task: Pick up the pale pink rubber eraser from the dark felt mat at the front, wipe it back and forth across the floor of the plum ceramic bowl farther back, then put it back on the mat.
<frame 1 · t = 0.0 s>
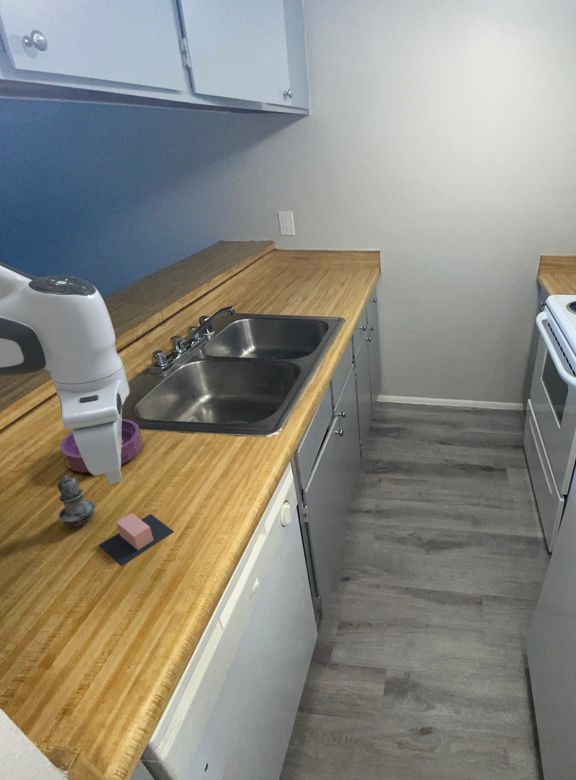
hand: (116, 462, 76), 21 cm above the worktop, tool pointing down, fingers open, 8 cm apart
mat: (137, 540, 88), on the worktop
eraser: (137, 538, 88), point 1 cm above the worktop, touching mat
bowl: (106, 454, 110), on the worktop
grey stone finial: (82, 525, 91), on the worktop
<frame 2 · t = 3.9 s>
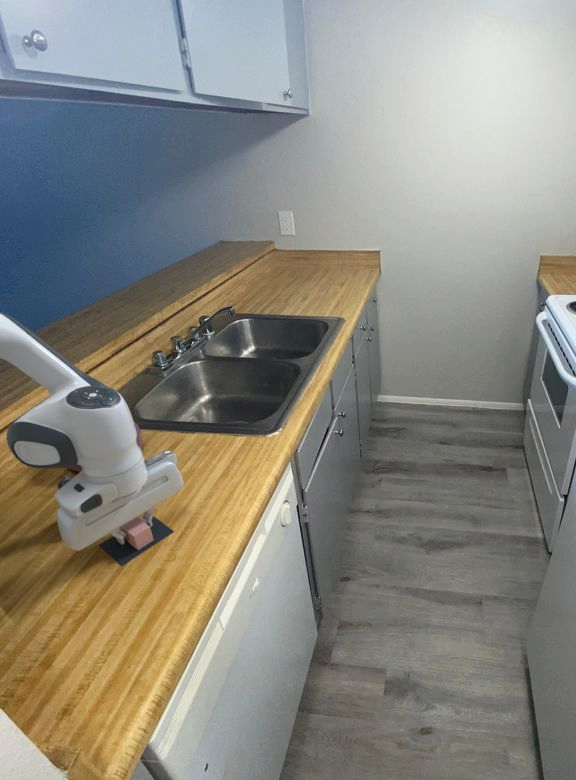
hand: (135, 533, 87), 2 cm above the worktop, tool pointing down, fingers closed on eraser, 3 cm apart
eraser: (137, 538, 88), point 1 cm above the worktop, touching gripper, mat
everything else where it was.
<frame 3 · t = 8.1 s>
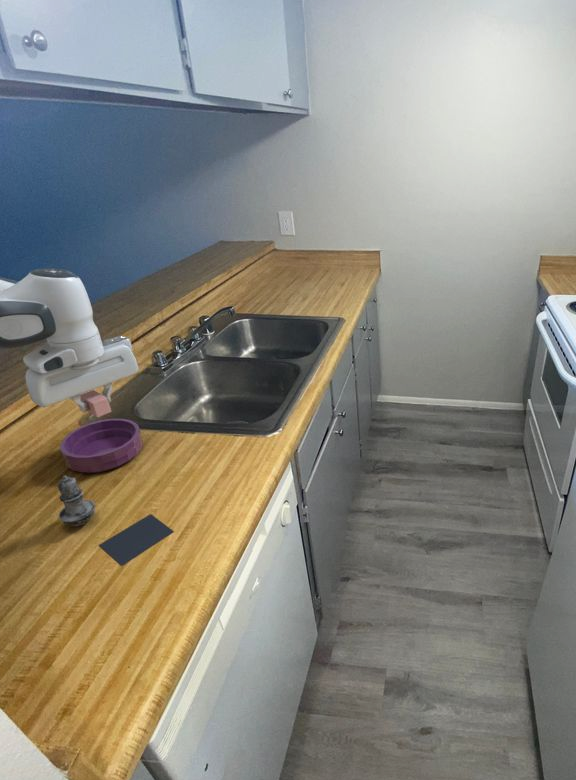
hand: (95, 406, 103), 14 cm above the worktop, tool pointing down, fingers closed on eraser, 3 cm apart
eraser: (97, 410, 103), point 13 cm above the worktop, touching gripper
everything else where it was.
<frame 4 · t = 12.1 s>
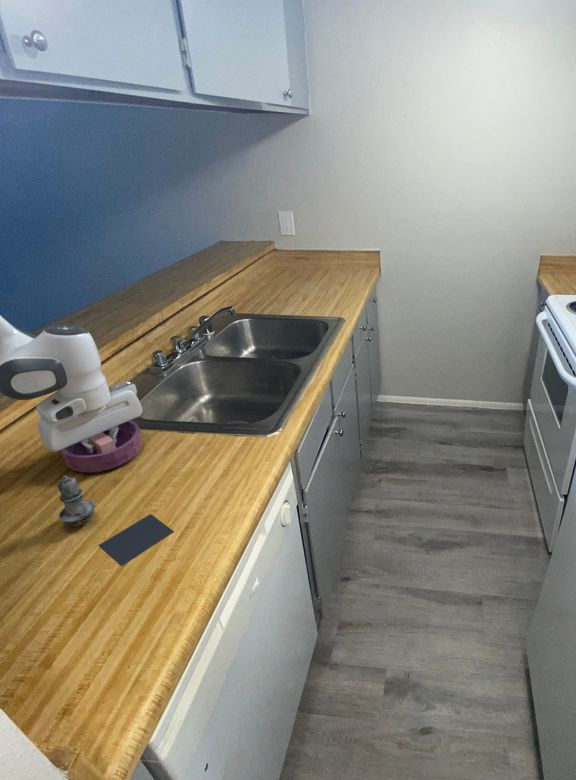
hand: (102, 447, 110), 2 cm above the worktop, tool pointing down, fingers closed on eraser, 3 cm apart
eraser: (104, 450, 110), point 1 cm above the worktop, touching gripper
everything else where it was.
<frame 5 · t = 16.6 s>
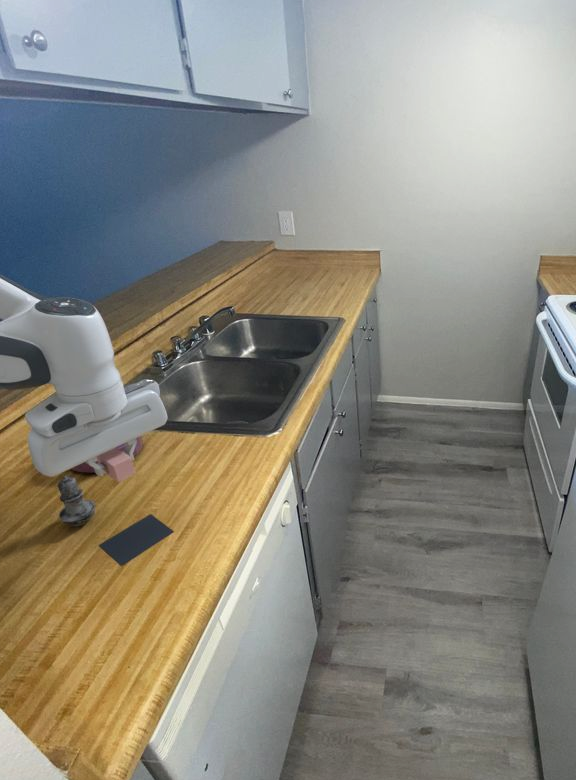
hand: (115, 467, 82), 16 cm above the worktop, tool pointing down, fingers closed on eraser, 3 cm apart
eraser: (117, 471, 82), point 15 cm above the worktop, touching gripper
everything else where it was.
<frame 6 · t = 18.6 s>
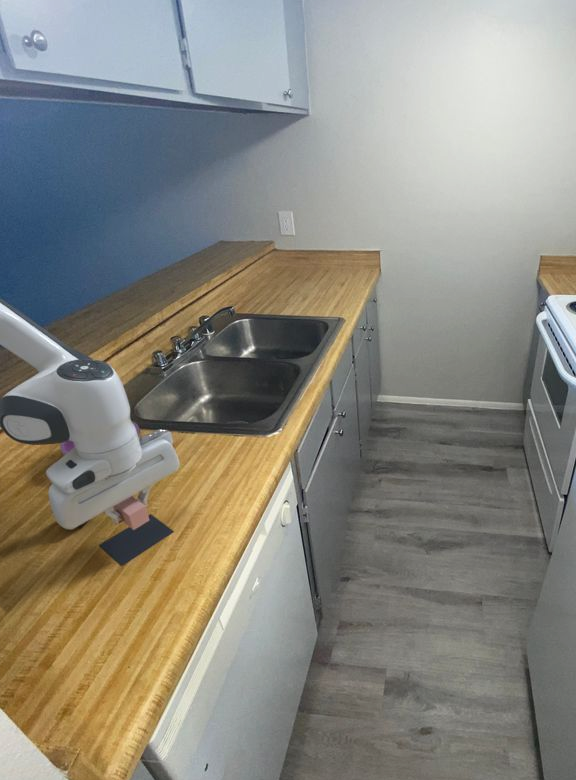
hand: (130, 514, 85), 6 cm above the worktop, tool pointing down, fingers closed on eraser, 3 cm apart
eraser: (132, 518, 85), point 6 cm above the worktop, touching gripper
everything else where it was.
when the fingers open (1 cm above the worktop, at t = 20.1 s): eraser stays where it is, resting on mat.
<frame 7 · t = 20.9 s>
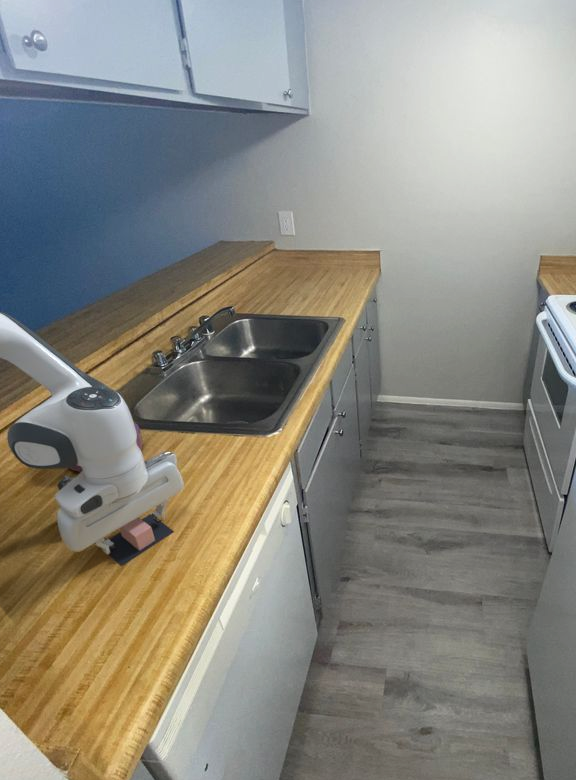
hand: (135, 534, 87), 2 cm above the worktop, tool pointing down, fingers open, 8 cm apart
eraser: (138, 538, 88), point 1 cm above the worktop, touching mat
everything else where it was.
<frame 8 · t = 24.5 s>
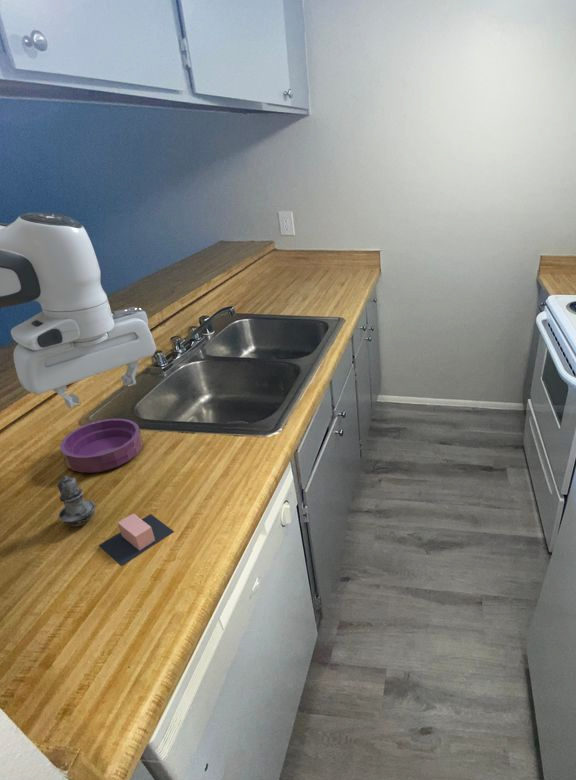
hand: (103, 394, 82), 27 cm above the worktop, tool pointing down, fingers open, 8 cm apart
nothing on the worktop moved.
at the end: eraser 0.3 cm off-centre on the mat, point 0.6 cm above the mat's base; eraser touching mat; eraser tilted 0° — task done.
